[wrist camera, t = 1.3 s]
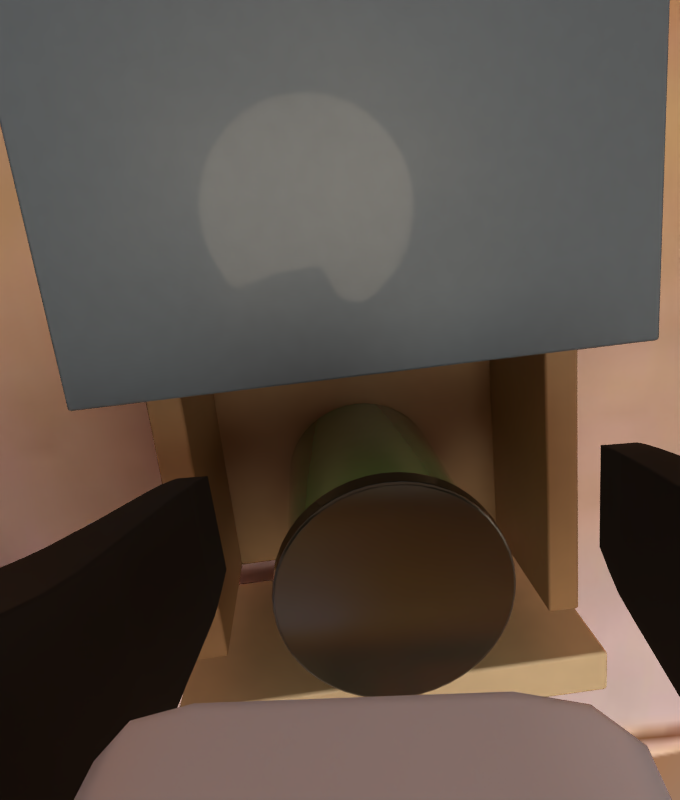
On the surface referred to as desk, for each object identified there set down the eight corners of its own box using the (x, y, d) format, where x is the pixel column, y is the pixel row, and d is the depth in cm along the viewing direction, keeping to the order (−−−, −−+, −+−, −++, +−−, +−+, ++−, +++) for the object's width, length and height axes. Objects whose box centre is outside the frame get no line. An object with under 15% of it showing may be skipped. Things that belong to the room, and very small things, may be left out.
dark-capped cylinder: (448, 535, 21) (520, 682, 14) (290, 556, 20) (288, 715, 14) (437, 383, 19) (513, 466, 13) (269, 404, 19) (254, 499, 12)
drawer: (533, 672, 24) (606, 810, 18) (231, 715, 23) (211, 869, 18) (519, 179, 19) (614, 159, 13) (138, 221, 18) (70, 219, 13)
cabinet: (531, 300, 21) (659, 340, 13) (149, 344, 20) (67, 412, 13) (518, -247, 17) (691, -611, 9) (42, -206, 16) (-163, -556, 9)
